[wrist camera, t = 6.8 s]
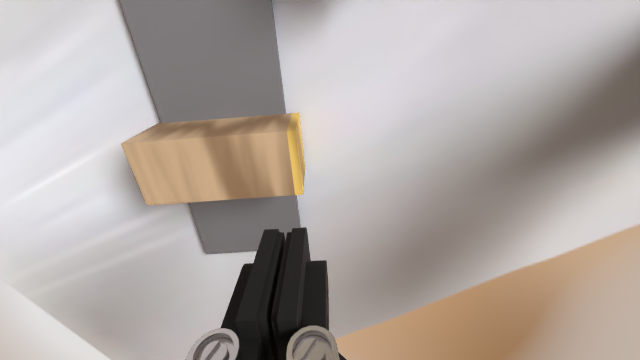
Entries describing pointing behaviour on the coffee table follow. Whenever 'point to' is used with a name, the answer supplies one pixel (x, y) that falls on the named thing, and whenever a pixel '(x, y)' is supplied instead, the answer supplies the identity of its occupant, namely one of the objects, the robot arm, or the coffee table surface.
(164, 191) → the oak block
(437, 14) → the coffee table surface
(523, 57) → the coffee table surface
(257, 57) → the mat
